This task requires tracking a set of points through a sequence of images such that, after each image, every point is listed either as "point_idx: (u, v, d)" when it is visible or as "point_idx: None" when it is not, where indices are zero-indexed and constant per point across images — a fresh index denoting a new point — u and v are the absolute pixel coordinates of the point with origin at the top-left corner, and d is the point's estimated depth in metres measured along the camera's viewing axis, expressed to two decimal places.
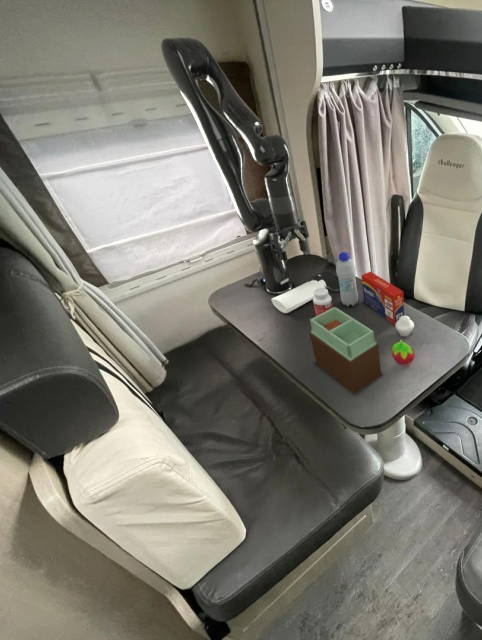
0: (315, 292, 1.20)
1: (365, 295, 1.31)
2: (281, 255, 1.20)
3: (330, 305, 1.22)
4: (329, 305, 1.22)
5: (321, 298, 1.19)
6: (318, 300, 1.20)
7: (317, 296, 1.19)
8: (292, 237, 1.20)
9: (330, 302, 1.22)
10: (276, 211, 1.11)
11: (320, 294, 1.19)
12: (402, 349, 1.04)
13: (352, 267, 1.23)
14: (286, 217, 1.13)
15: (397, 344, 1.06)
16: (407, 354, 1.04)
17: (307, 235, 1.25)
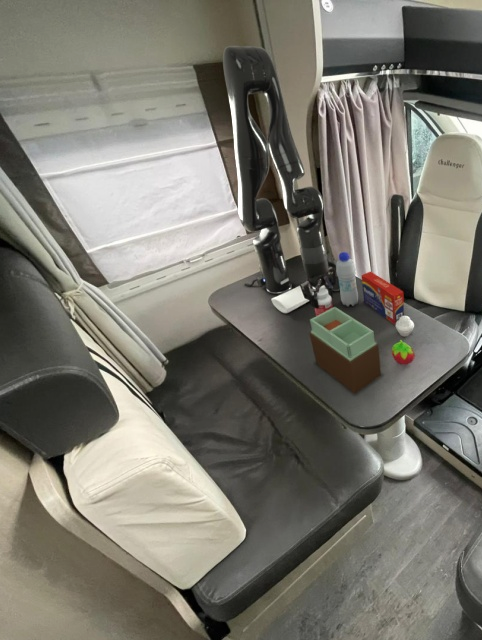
0: None
1: (365, 295, 1.31)
2: (312, 302, 1.18)
3: (330, 305, 1.22)
4: (329, 305, 1.22)
5: (321, 298, 1.19)
6: (318, 300, 1.20)
7: (317, 296, 1.19)
8: (321, 284, 1.18)
9: (330, 302, 1.22)
10: (307, 261, 1.09)
11: (320, 294, 1.19)
12: (402, 349, 1.04)
13: (352, 267, 1.23)
14: (317, 266, 1.10)
15: (397, 344, 1.06)
16: (407, 354, 1.04)
17: (334, 282, 1.22)
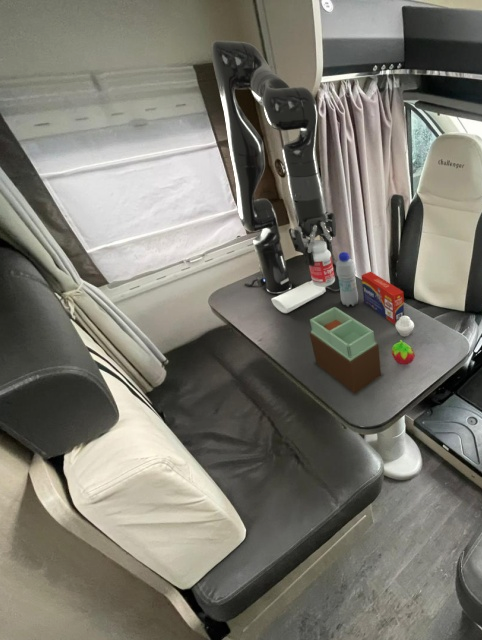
0: None
1: (365, 295, 1.31)
2: (306, 257, 0.91)
3: (329, 262, 0.95)
4: (328, 262, 0.95)
5: (317, 252, 0.92)
6: (314, 255, 0.93)
7: (312, 249, 0.92)
8: (318, 233, 0.91)
9: (329, 258, 0.95)
10: (298, 196, 0.82)
11: (316, 246, 0.92)
12: (402, 349, 1.04)
13: (352, 267, 1.23)
14: (312, 204, 0.83)
15: (397, 344, 1.06)
16: (407, 354, 1.04)
17: (334, 233, 0.95)
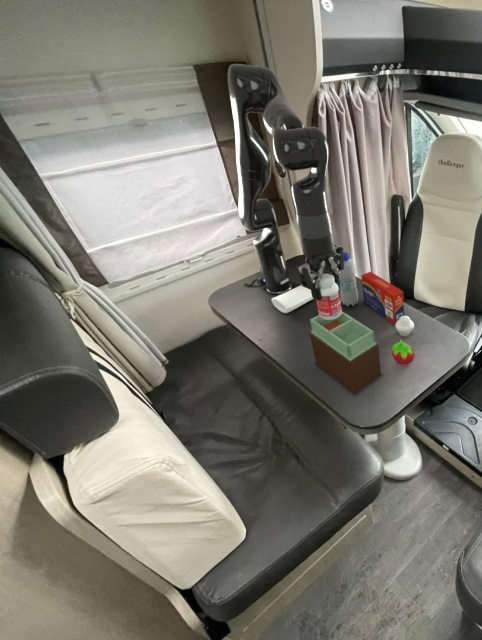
0: None
1: (365, 295, 1.31)
2: (313, 292, 0.89)
3: (337, 296, 0.93)
4: (336, 296, 0.92)
5: (324, 287, 0.90)
6: (321, 289, 0.91)
7: (320, 284, 0.90)
8: (325, 268, 0.88)
9: (337, 292, 0.92)
10: (307, 235, 0.79)
11: (324, 281, 0.90)
12: (402, 349, 1.04)
13: (352, 267, 1.23)
14: (320, 242, 0.81)
15: (397, 344, 1.06)
16: (407, 354, 1.04)
17: (342, 267, 0.93)
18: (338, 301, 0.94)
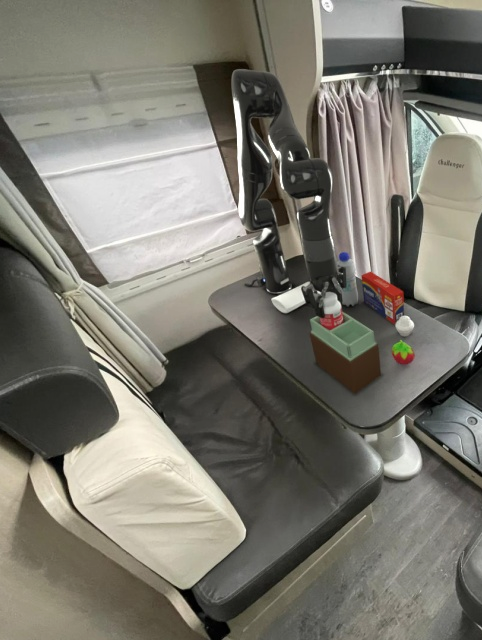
0: None
1: (365, 295, 1.31)
2: (317, 311, 0.93)
3: (339, 314, 0.97)
4: (338, 313, 0.96)
5: (328, 305, 0.94)
6: (324, 308, 0.94)
7: (323, 303, 0.93)
8: (329, 287, 0.92)
9: (339, 310, 0.96)
10: (311, 258, 0.83)
11: (327, 300, 0.93)
12: (402, 349, 1.04)
13: (352, 267, 1.23)
14: (324, 264, 0.85)
15: (397, 344, 1.06)
16: (407, 354, 1.04)
17: (344, 285, 0.97)
18: (341, 318, 0.98)
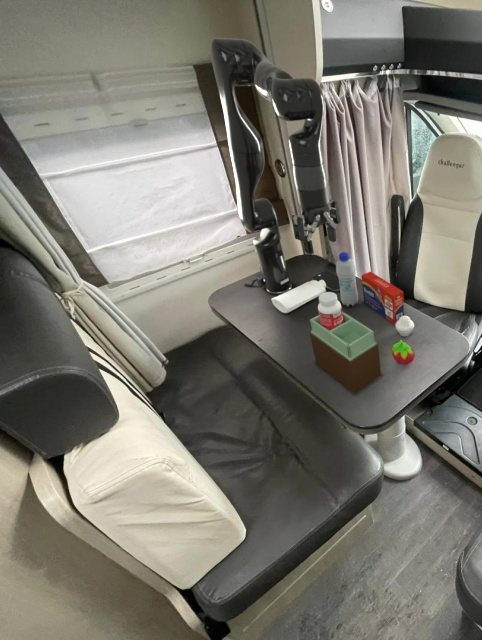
0: (320, 297, 0.94)
1: (365, 295, 1.31)
2: (306, 245, 0.92)
3: (339, 314, 0.97)
4: (338, 313, 0.96)
5: (328, 305, 0.94)
6: (324, 308, 0.94)
7: (323, 303, 0.93)
8: (320, 222, 0.92)
9: (339, 310, 0.96)
10: (303, 186, 0.83)
11: (327, 300, 0.93)
12: (402, 349, 1.04)
13: (352, 267, 1.23)
14: (315, 194, 0.85)
15: (397, 344, 1.06)
16: (407, 354, 1.04)
17: (338, 220, 0.97)
18: (341, 318, 0.98)
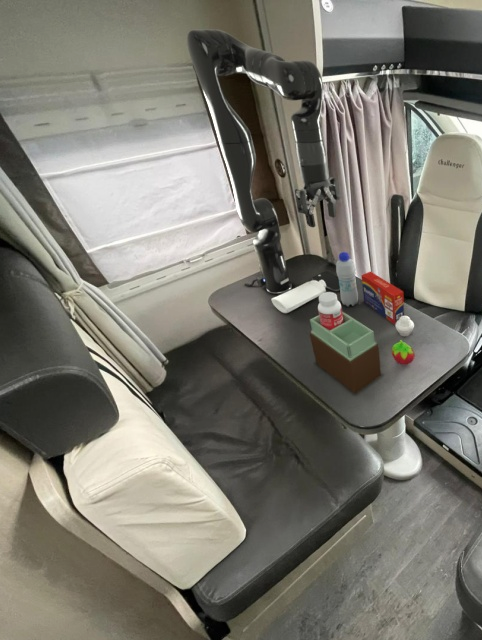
0: (320, 297, 0.94)
1: (365, 295, 1.31)
2: (308, 219, 1.00)
3: (339, 314, 0.97)
4: (338, 313, 0.96)
5: (328, 305, 0.94)
6: (324, 308, 0.94)
7: (323, 303, 0.93)
8: (321, 197, 1.00)
9: (339, 310, 0.96)
10: (304, 161, 0.91)
11: (327, 300, 0.93)
12: (402, 349, 1.04)
13: (352, 267, 1.23)
14: (316, 169, 0.93)
15: (397, 344, 1.06)
16: (407, 354, 1.04)
17: (338, 197, 1.05)
18: (341, 318, 0.98)
